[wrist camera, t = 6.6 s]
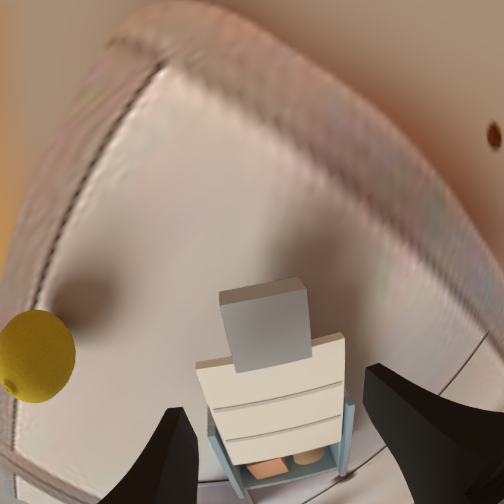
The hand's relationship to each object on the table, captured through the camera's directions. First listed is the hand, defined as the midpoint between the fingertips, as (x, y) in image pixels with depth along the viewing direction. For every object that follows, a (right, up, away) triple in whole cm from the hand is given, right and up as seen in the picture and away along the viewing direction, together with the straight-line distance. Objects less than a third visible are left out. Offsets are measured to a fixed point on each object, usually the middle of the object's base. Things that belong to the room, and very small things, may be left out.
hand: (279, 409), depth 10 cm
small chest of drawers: (0, -2, +7) cm, 7 cm away
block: (0, -12, +13) cm, 18 cm away
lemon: (-16, 0, +8) cm, 17 cm away
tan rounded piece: (+4, -11, +13) cm, 17 cm away
